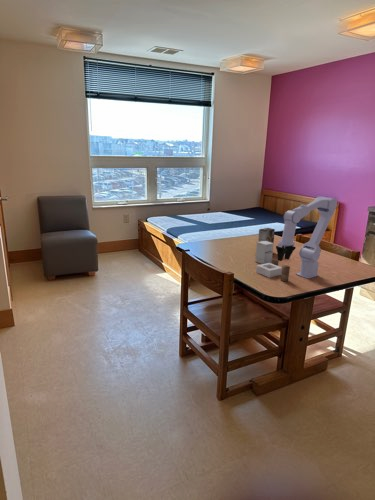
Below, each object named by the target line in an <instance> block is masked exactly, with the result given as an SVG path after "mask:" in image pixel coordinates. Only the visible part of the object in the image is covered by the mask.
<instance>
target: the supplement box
mask: <svg viewBox="0 0 375 500" xmlns="http://www.w3.org/2000/svg"><path fill="white" fill-rule="evenodd" d="M255 247H256V248H255V257H254V259H255V260H254V261H255V262H256V263H258V264H259V265H261V264H266V263H271V262H272V260H273V254H274V253H273V250H274V243H271V242H268V241H261V242H258V241H257V242H256V246H255Z"/></svg>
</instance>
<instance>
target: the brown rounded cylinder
mask: <svg viewBox="0 0 375 500" xmlns="http://www.w3.org/2000/svg"><path fill="white" fill-rule="evenodd" d="M281 267H282V271H281V275H280V282H283V283H287V282H289V277H290V269H291V265H288V264H282V266H281Z"/></svg>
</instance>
